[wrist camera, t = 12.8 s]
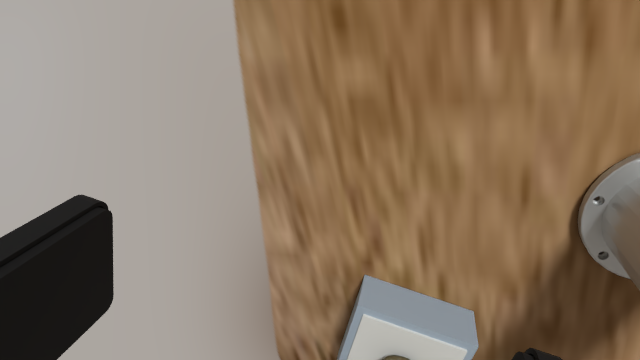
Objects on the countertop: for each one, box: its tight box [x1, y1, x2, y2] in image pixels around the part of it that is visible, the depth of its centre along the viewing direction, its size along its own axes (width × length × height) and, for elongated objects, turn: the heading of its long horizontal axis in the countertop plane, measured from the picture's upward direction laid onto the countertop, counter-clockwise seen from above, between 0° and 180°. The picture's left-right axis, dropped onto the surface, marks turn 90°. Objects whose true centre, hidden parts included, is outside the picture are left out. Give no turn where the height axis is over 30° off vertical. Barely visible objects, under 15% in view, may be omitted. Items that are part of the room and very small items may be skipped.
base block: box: [337, 275, 478, 360], centre depth 45 cm, size 12×12×5 cm
